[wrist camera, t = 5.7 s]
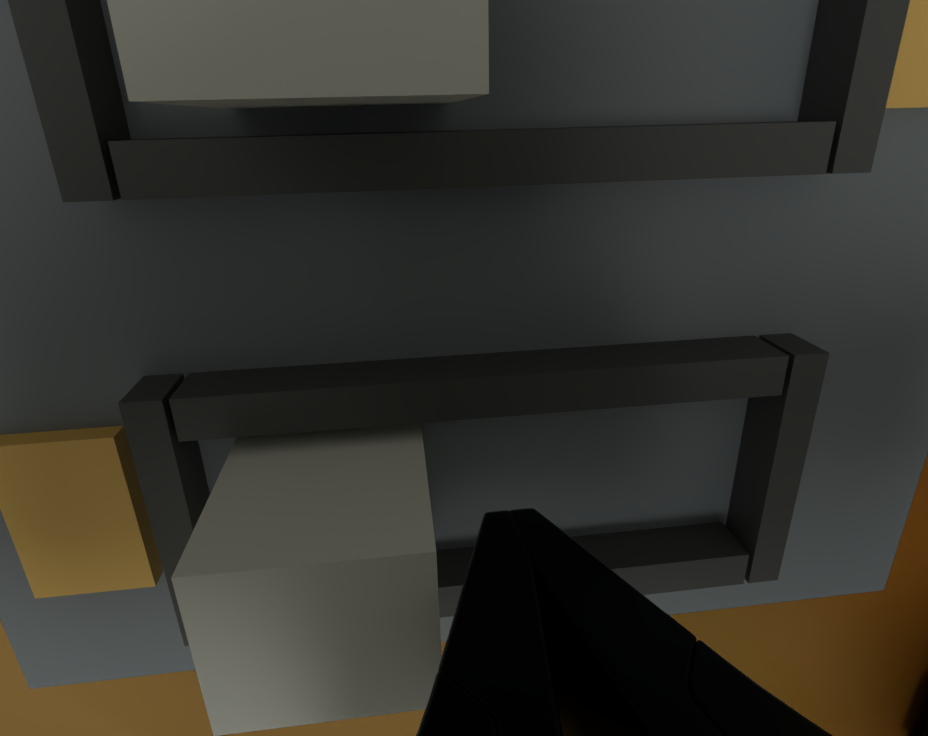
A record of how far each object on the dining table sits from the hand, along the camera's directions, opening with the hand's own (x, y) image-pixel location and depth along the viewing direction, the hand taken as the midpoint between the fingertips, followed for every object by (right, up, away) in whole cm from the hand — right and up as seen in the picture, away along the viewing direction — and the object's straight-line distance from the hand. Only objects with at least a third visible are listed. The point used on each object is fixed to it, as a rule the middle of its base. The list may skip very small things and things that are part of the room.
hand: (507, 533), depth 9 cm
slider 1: (-3, 0, +1) cm, 3 cm away
